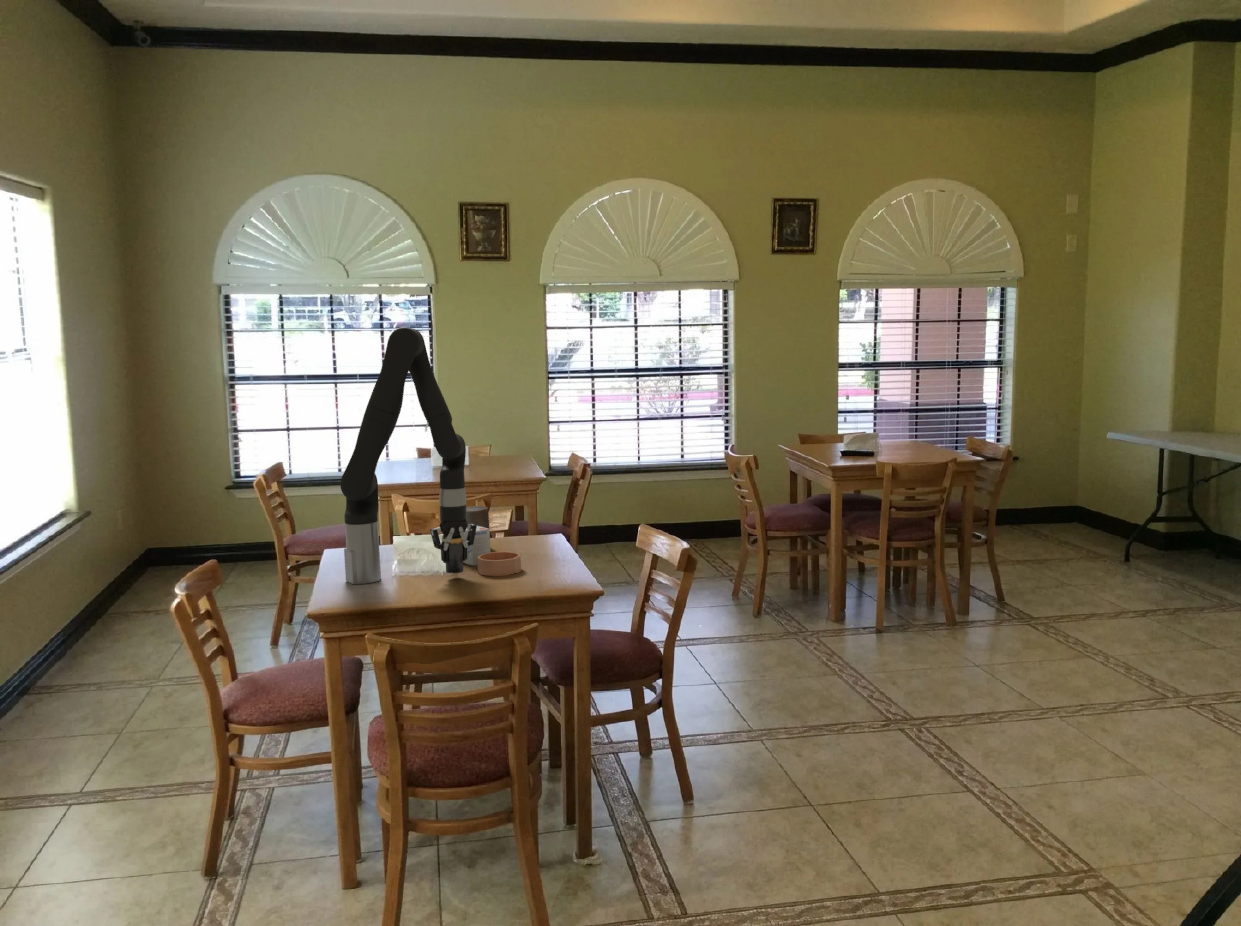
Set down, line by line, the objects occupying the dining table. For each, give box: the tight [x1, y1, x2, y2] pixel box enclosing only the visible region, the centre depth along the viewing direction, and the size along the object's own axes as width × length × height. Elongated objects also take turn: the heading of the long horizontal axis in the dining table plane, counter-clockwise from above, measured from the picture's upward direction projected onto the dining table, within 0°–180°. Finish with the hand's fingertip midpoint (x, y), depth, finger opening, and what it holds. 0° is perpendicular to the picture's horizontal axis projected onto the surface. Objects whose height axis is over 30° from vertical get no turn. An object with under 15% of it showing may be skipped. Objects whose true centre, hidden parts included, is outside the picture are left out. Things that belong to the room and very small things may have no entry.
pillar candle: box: [466, 505, 490, 529], centre depth 334 cm, size 10×10×15 cm
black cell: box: [445, 537, 464, 574], centre depth 293 cm, size 5×5×10 cm
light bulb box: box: [463, 526, 492, 567], centre depth 315 cm, size 11×7×11 cm, turn 37°
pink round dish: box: [477, 551, 522, 577], centre depth 301 cm, size 13×13×4 cm
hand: (454, 561), depth 293 cm, fingers closed on black cell, 5 cm apart
